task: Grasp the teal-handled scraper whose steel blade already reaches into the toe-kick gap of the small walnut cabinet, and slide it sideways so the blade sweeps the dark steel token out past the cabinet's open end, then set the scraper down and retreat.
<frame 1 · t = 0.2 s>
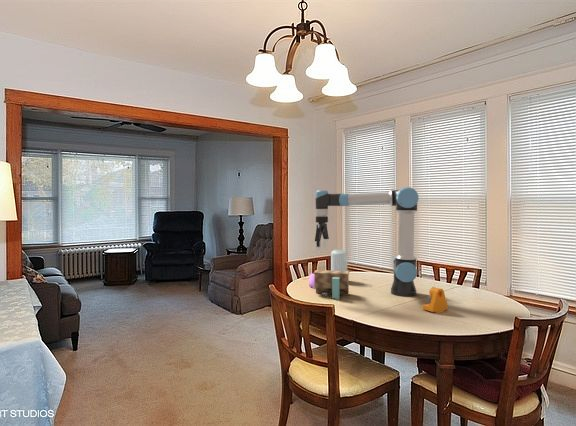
hand: (321, 250, 226), 27 cm above the table, fingers open, 13 cm apart
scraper: (335, 298, 219), on the table
bracket: (434, 310, 193), on the table
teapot: (319, 287, 247), on the table
token: (325, 295, 227), on the table
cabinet: (331, 294, 228), on the table
vase: (339, 281, 266), on the table
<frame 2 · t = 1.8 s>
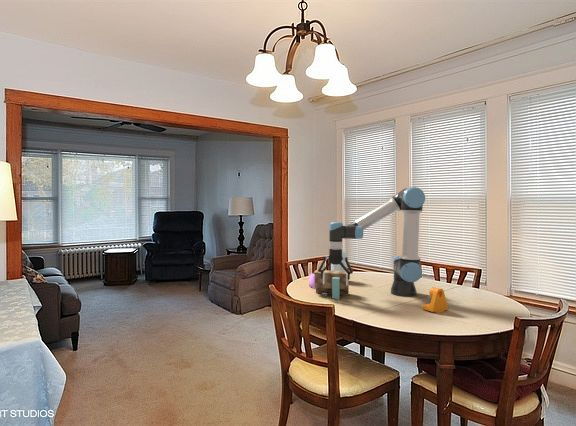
hand: (335, 284, 218), 8 cm above the table, fingers open, 13 cm apart
nothing on the table moved.
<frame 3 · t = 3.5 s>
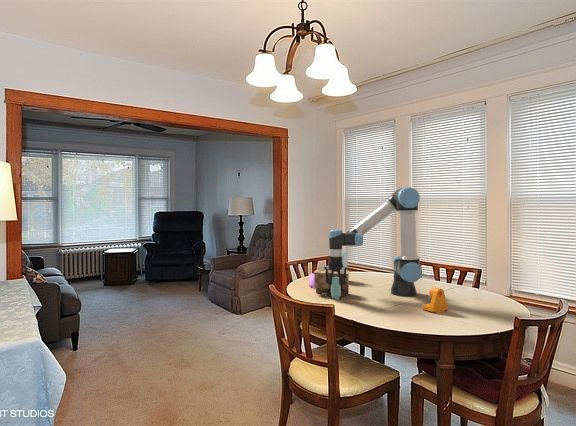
hand: (335, 295, 219), 2 cm above the table, fingers closed on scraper, 4 cm apart
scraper: (335, 298, 219), on the table, touching gripper
everything else where it was.
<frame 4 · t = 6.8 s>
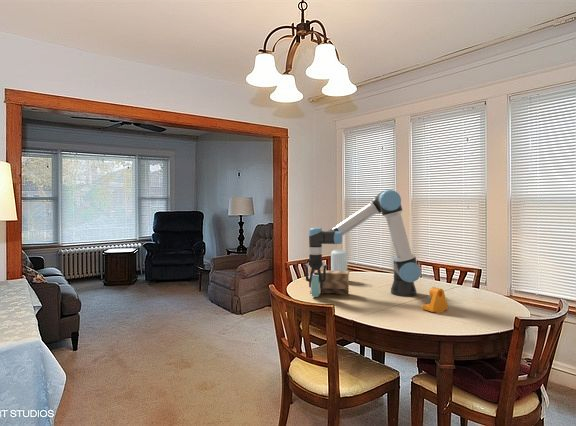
hand: (315, 292, 221), 3 cm above the table, fingers closed on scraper, 4 cm apart
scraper: (315, 295, 221), point 1 cm above the table, touching gripper, token
token: (313, 294, 229), on the table, touching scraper
everything else where it was.
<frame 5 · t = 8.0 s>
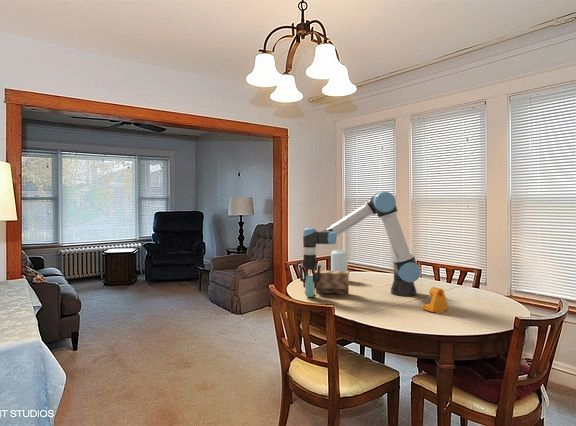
hand: (310, 293, 222), 2 cm above the table, fingers closed on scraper, 4 cm apart
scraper: (310, 295, 222), point 1 cm above the table, touching gripper
token: (308, 294, 230), on the table
everything else where it was.
when the fingers open (2 cm above the table, at t = 9.4 s): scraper stays where it is, on the table.
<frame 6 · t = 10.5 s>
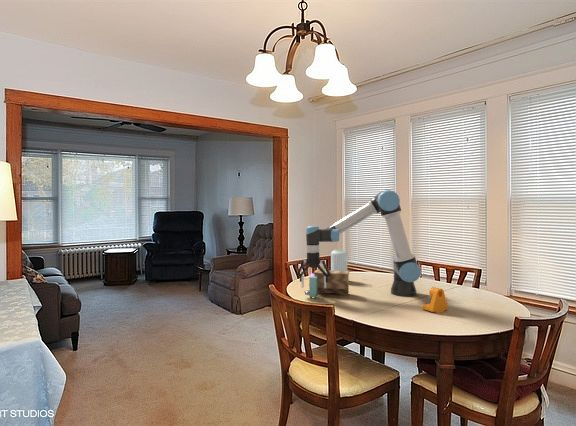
hand: (313, 287, 221), 6 cm above the table, fingers open, 13 cm apart
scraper: (313, 297, 222), on the table
everything else where it was.
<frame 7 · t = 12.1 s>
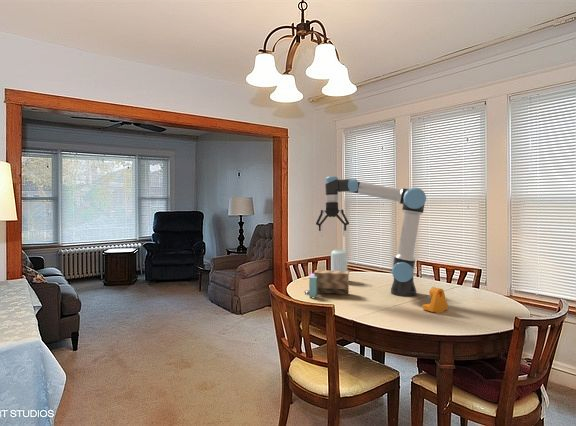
hand: (332, 236, 229), 35 cm above the table, fingers open, 13 cm apart
nothing on the table moved.
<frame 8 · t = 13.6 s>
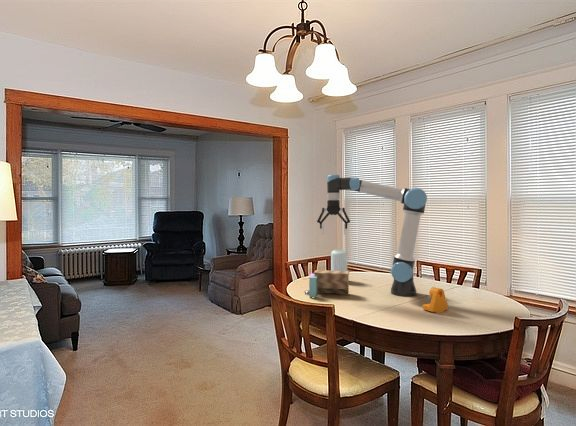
hand: (333, 234, 230), 37 cm above the table, fingers open, 13 cm apart
nothing on the table moved.
at the end: token inside the target area (2.1 cm from its centre), on the table; token touching table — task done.
